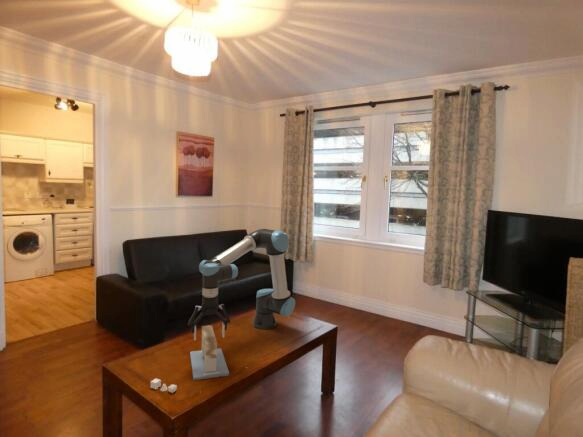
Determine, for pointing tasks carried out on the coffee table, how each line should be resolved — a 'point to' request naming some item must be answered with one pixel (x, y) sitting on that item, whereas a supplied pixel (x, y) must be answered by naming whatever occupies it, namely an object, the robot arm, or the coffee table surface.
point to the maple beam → (209, 342)
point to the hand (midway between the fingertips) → (209, 337)
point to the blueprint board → (200, 365)
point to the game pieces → (157, 383)
